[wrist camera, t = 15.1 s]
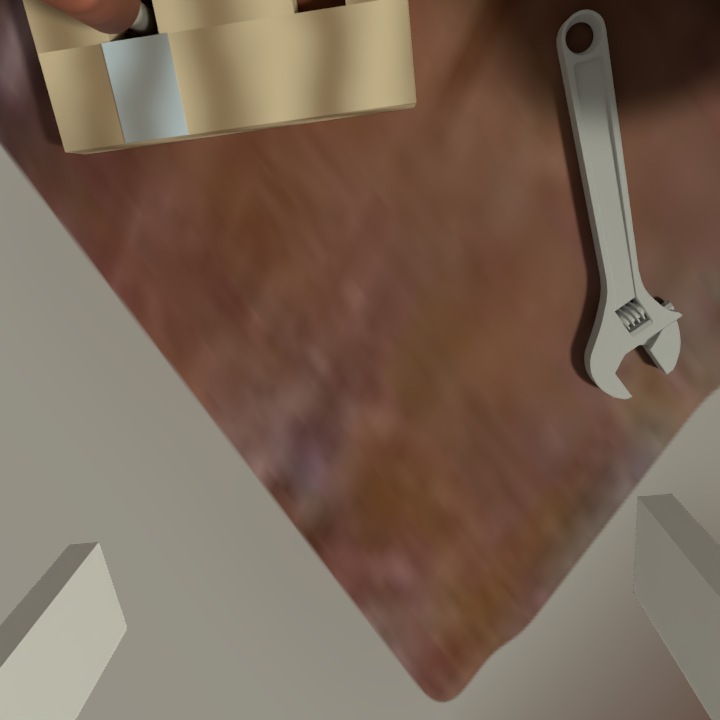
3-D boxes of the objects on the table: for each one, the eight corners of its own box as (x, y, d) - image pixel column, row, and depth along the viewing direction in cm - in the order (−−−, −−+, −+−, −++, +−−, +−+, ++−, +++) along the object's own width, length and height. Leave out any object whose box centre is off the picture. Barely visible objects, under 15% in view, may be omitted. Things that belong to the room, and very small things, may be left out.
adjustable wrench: (548, 24, 33) (557, 15, 31) (655, -4, 32) (670, -15, 30) (585, 393, 40) (594, 402, 38) (673, 377, 40) (686, 385, 38)
